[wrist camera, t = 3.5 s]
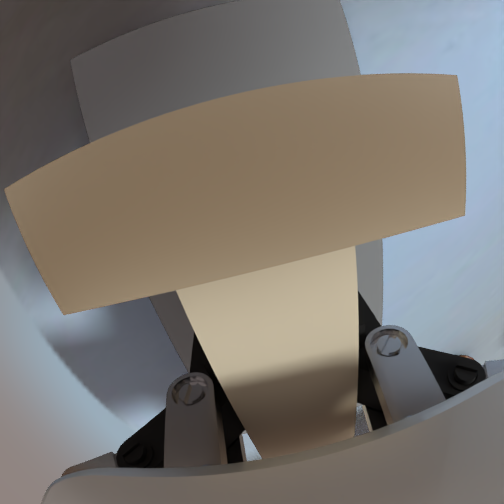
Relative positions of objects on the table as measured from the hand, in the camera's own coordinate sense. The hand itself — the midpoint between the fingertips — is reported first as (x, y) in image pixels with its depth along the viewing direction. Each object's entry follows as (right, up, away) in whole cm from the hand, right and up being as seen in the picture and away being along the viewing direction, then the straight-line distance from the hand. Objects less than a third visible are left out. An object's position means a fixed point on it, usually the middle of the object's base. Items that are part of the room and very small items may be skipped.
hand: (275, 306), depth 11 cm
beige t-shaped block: (0, 0, +1) cm, 1 cm away
